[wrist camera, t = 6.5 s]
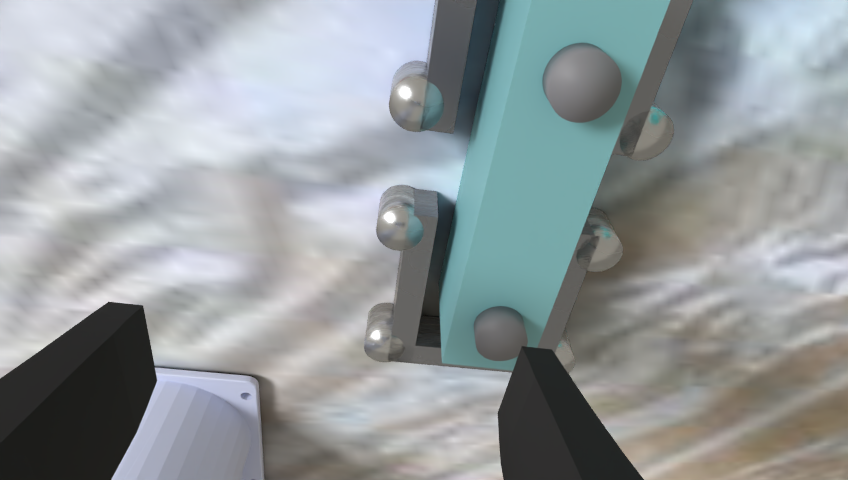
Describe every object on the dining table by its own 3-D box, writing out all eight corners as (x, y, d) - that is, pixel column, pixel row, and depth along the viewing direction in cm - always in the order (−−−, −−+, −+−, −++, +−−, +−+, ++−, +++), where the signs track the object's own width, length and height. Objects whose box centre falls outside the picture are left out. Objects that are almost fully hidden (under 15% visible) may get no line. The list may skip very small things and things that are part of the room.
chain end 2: (641, 140, 18) (661, 163, 16) (389, 107, 17) (386, 128, 16) (741, -113, 14) (779, -113, 12) (418, -169, 13) (417, -176, 12)
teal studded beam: (509, 288, 22) (531, 390, 17) (438, 280, 21) (442, 381, 17) (609, -31, 15) (687, 3, 11) (508, -49, 15) (545, -21, 10)
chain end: (559, 347, 23) (568, 379, 22) (366, 329, 23) (362, 360, 21) (613, 210, 19) (629, 237, 18) (382, 182, 19) (378, 208, 17)
